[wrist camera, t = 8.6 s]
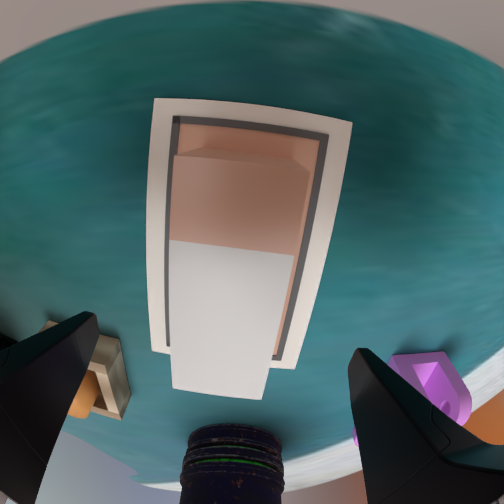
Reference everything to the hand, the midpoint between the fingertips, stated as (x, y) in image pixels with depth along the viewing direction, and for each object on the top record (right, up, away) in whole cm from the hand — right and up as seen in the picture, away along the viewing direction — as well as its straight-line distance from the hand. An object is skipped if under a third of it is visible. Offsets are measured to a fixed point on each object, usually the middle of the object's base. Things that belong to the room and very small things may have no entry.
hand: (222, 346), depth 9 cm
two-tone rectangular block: (0, +3, +7) cm, 7 cm away
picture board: (0, +3, +8) cm, 9 cm away
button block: (-13, -6, +12) cm, 19 cm away
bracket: (+14, -11, +14) cm, 23 cm away
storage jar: (-1, -17, +17) cm, 24 cm away
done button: (-13, -7, +10) cm, 18 cm away
